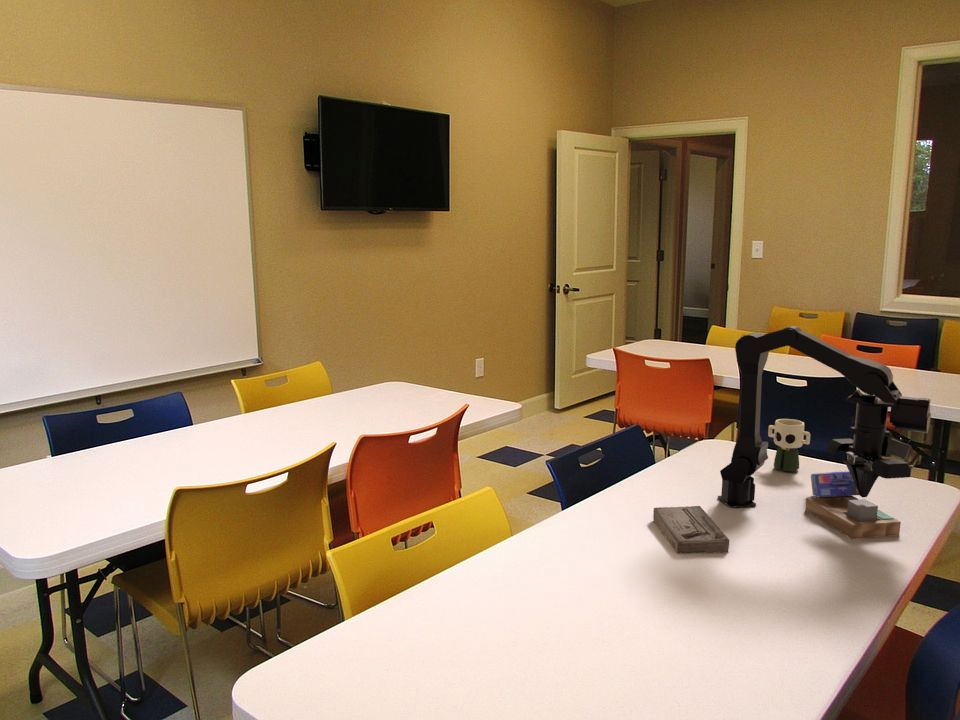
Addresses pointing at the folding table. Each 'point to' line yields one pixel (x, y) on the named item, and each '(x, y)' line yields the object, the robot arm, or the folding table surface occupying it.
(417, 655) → the folding table surface
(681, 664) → the folding table surface
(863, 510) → the plug
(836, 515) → the socket block
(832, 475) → the ink cartridge box
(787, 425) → the character mug
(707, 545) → the box
